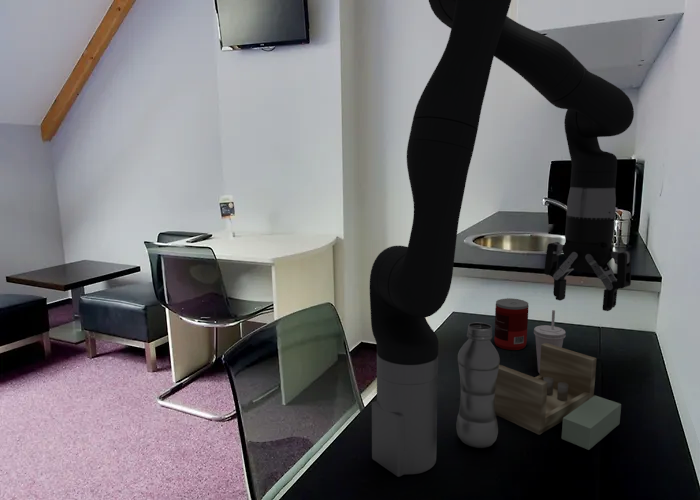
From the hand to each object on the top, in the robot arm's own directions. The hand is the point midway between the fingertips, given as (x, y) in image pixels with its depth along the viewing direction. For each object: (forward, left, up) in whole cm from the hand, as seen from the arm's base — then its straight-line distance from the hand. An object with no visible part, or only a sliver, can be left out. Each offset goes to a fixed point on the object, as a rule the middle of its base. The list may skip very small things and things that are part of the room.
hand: (583, 304), depth 90 cm
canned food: (+19, +27, -20) cm, 39 cm away
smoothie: (+11, +12, -20) cm, 26 cm away
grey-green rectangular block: (-5, -6, -21) cm, 22 cm away
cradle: (-4, +4, -20) cm, 21 cm away
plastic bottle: (-23, +4, -20) cm, 31 cm away
